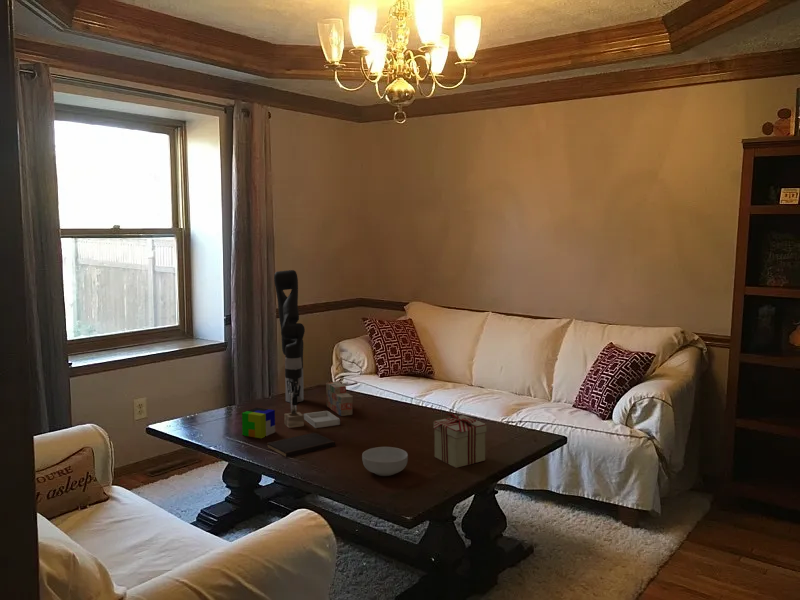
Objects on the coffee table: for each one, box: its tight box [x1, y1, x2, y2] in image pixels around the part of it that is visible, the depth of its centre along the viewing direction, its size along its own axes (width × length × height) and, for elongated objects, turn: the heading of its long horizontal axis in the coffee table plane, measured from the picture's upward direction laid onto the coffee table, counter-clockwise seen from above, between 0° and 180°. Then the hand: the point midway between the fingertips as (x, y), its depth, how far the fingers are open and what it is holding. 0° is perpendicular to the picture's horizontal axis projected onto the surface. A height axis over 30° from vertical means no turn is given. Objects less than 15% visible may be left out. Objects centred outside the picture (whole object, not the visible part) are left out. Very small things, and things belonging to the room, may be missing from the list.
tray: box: [303, 410, 341, 429], centre depth 312 cm, size 16×12×3 cm
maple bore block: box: [283, 411, 305, 429], centre depth 307 cm, size 7×7×5 cm
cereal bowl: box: [361, 446, 409, 477], centre depth 247 cm, size 17×17×7 cm
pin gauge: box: [290, 392, 298, 414], centre depth 306 cm, size 3×3×12 cm
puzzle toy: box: [241, 407, 276, 439], centre depth 293 cm, size 10×10×10 cm
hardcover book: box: [266, 432, 336, 458], centre depth 277 cm, size 16×23×2 cm
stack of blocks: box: [325, 381, 354, 417], centre depth 332 cm, size 21×6×12 cm, turn 25°
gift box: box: [433, 412, 487, 469], centre depth 260 cm, size 17×18×17 cm
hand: (293, 404), depth 306 cm, fingers closed on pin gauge, 2 cm apart
